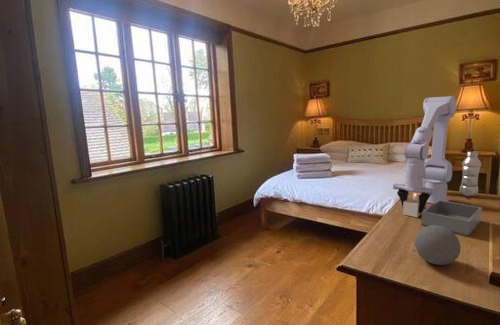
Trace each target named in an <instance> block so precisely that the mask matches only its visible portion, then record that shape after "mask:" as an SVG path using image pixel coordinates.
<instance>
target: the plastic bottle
mask: <svg viewBox="0 0 500 325" xmlns="http://www.w3.org/2000/svg"><path fill="white" fill-rule="evenodd" d="M478 157H479V151H477V150H476V151H475V150H473V151H471V150H469V151H467V152H466V158H465V159H464V160H463V161H462V162H461V163H462V164H461V167H462V178H461V184H460V186H459V194H460V195H462V196H464V197H465V196H466V197H476V196H477V195H478V194H479V193H478V192H479V186H478V184H479V183H478V182H479V173H480V170H481V167H482V162H481V160H480V159H479V158H478Z"/></svg>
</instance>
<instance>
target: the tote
mask: <svg viewBox="0 0 500 325" xmlns="http://www.w3.org/2000/svg"><path fill="white" fill-rule="evenodd" d="M482 210H483V207H480V206H475V205H468V204H464V203H458V202H452V201H441V200H438V201H436V202H435V203H433V204H432V203H431V205H429V206H428V207H427V209H425V210H424V211H422V214H421V223H420V224H421V226H423V227H426V226H431V225H438V226H442V227H445V228H447V229H449V230H450V231H452V232H453V233H454V234H455V235H459V236H463V237H467V238H468V237H469V236H470V235H471V234H472V233H473V231H474V230H476V227H477V226H478V225H479V224H480V222H481V220H482Z"/></svg>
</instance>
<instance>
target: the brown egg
mask: <svg viewBox="0 0 500 325" xmlns="http://www.w3.org/2000/svg"><path fill="white" fill-rule="evenodd" d="M420 194H421V193H415V192H412V199H413V200H418V201H419V195H420ZM427 206H428V203H427V202H426V204H425V206H424V209H423V211H424V210H425V209H427V208H428V207H427Z"/></svg>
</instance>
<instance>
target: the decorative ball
mask: <svg viewBox="0 0 500 325" xmlns="http://www.w3.org/2000/svg"><path fill="white" fill-rule="evenodd" d="M414 246H415V250H416V251H417V253H418V255H419V256H420V257H421V258H422V259H423V260H425V261H426V262H428V263H430V264H433V265H438V266H445V265H449V264H451V263H454V262H455V261H456V260H457V259H458V258H459V256H460V254H461V248H462V247H461V242H460V240H459V238H458V236H457V234H455V233H453V232H452V231H450V230H449V229H447V228H445V227H442V226H438V225H431V226H423V228H421V229H419V231H418V232H417V234H416V235H415V239H414Z"/></svg>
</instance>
